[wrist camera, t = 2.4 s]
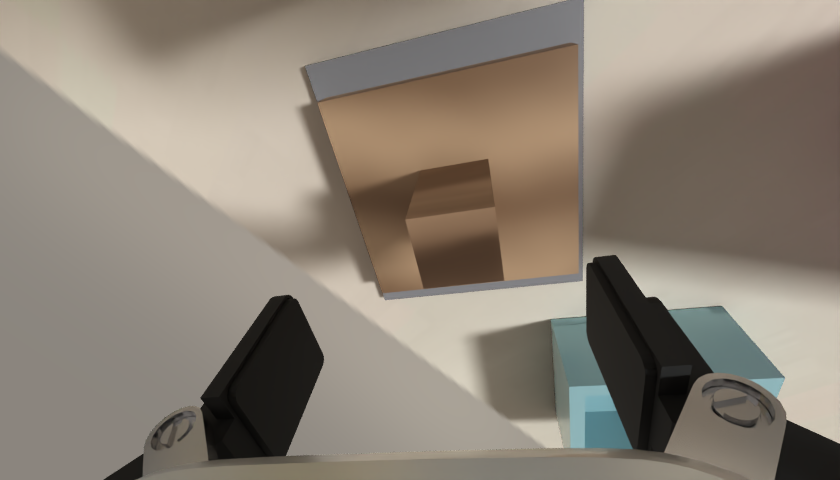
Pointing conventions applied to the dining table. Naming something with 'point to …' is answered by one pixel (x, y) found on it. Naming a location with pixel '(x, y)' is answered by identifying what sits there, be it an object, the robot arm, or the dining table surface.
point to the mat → (455, 52)
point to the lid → (465, 171)
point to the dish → (588, 394)
